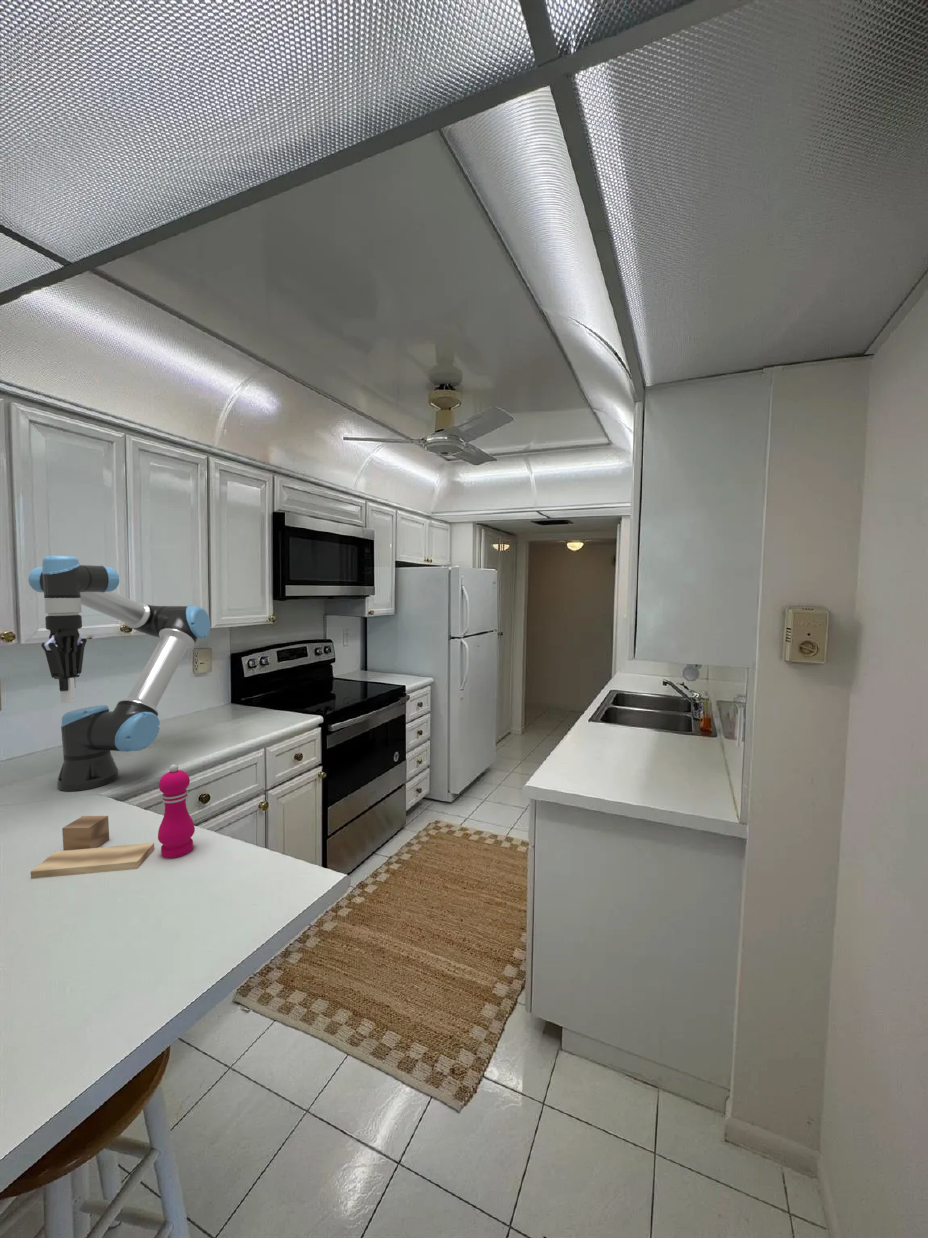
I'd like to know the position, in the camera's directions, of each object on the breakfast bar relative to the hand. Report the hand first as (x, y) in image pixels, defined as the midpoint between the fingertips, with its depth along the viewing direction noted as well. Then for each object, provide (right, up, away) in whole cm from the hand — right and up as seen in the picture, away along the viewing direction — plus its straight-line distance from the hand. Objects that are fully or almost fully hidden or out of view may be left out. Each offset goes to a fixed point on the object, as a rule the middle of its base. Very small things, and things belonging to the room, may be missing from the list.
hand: (68, 702), depth 133 cm
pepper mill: (+41, -30, -21) cm, 55 cm away
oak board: (+26, -31, -25) cm, 48 cm away
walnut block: (+19, -30, -18) cm, 40 cm away
